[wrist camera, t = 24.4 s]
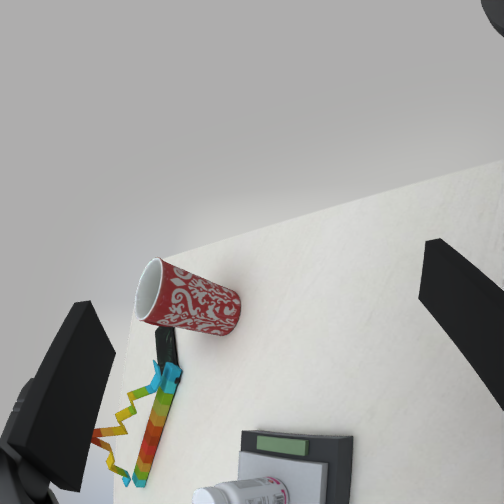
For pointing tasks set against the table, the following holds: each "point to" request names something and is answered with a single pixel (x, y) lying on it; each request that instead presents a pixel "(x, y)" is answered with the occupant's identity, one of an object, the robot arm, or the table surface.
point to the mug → (184, 300)
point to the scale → (300, 464)
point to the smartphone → (165, 348)
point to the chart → (153, 427)
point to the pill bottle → (243, 492)
